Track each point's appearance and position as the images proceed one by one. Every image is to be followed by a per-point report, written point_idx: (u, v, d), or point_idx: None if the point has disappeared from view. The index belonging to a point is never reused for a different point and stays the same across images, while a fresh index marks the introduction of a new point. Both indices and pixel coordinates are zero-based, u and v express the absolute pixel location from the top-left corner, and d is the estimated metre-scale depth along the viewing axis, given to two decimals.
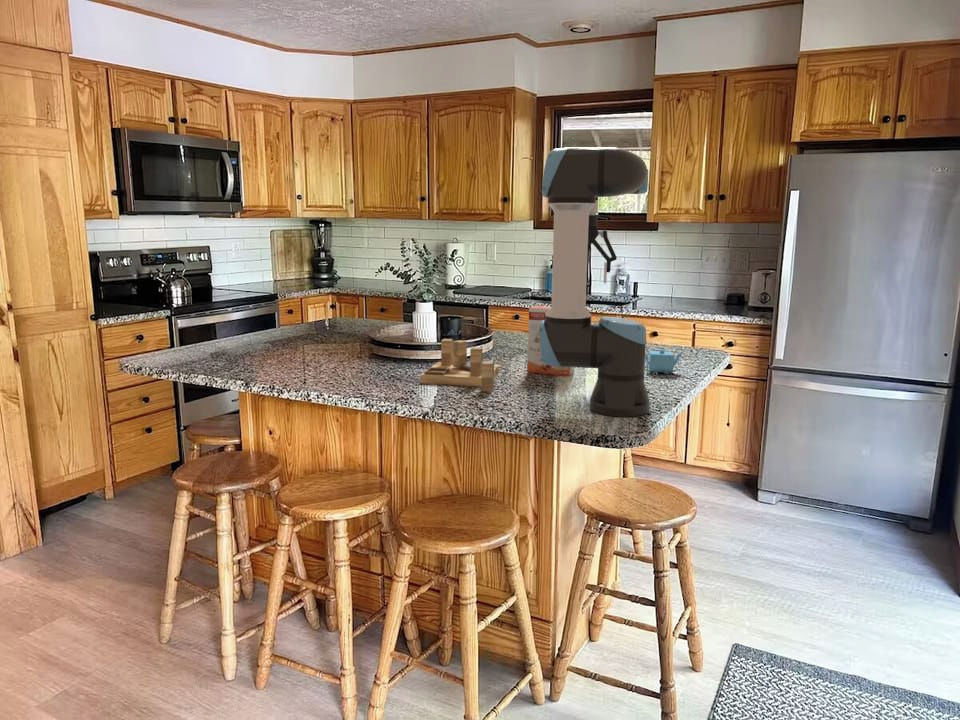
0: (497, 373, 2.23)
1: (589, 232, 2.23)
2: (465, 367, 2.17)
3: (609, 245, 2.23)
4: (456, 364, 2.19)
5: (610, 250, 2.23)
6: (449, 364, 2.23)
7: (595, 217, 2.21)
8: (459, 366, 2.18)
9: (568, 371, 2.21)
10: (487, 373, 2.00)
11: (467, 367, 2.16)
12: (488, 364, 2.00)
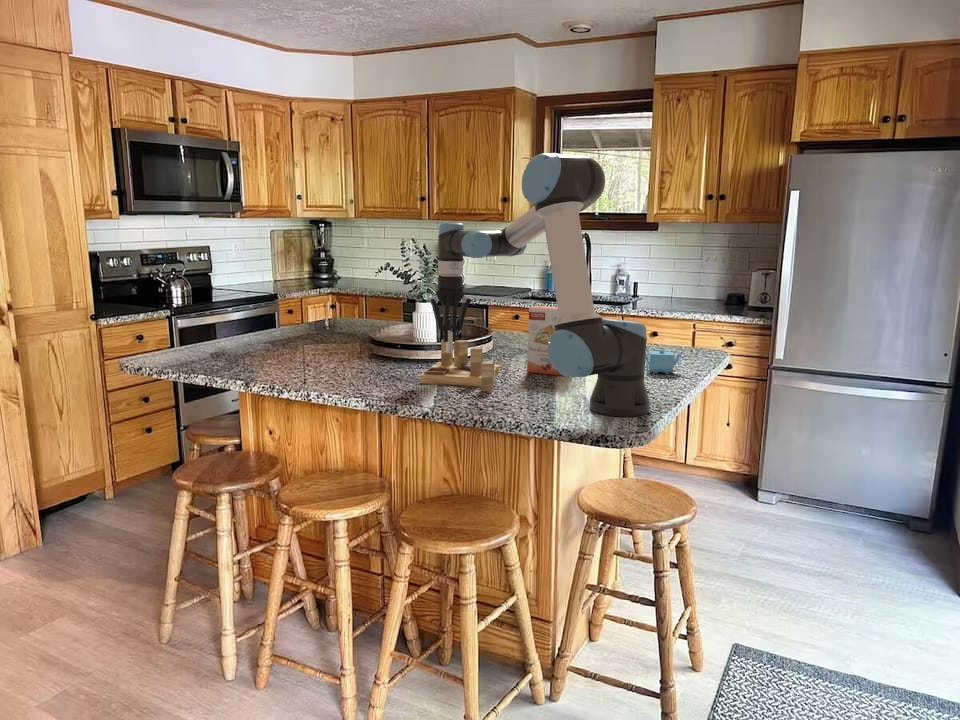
0: (497, 373, 2.23)
1: None
2: (465, 367, 2.17)
3: None
4: (457, 364, 2.19)
5: None
6: (449, 364, 2.23)
7: None
8: (460, 366, 2.19)
9: None
10: (487, 373, 2.00)
11: (467, 367, 2.16)
12: (488, 364, 2.00)
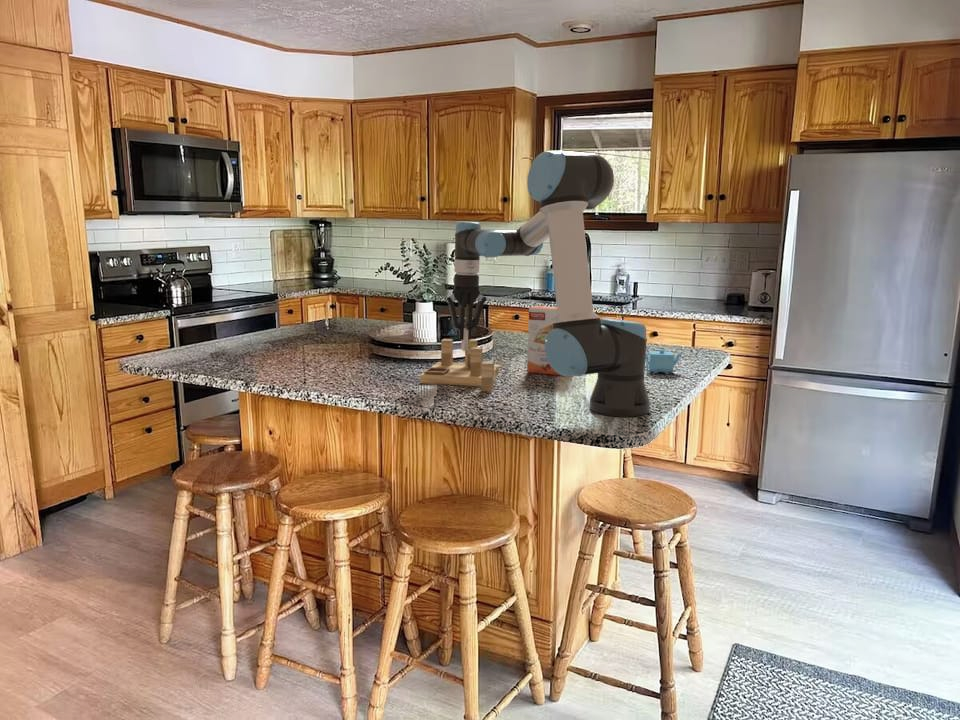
0: (497, 373, 2.23)
1: None
2: None
3: None
4: (466, 363, 2.22)
5: None
6: (449, 364, 2.23)
7: None
8: (467, 364, 2.21)
9: None
10: (487, 373, 2.00)
11: None
12: (488, 364, 2.00)
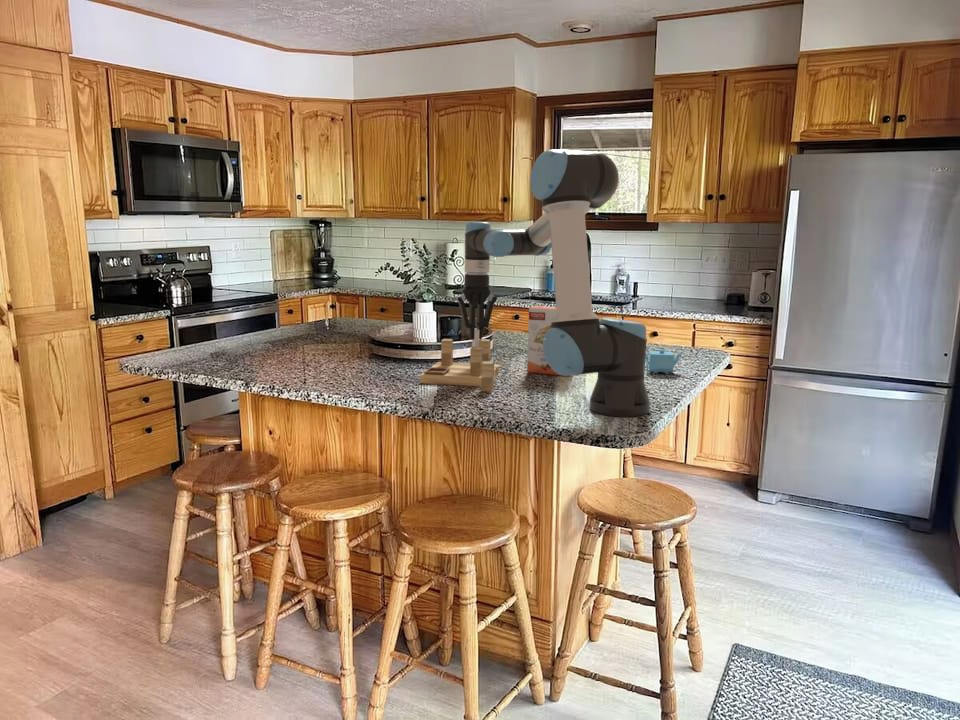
0: (497, 373, 2.23)
1: None
2: None
3: None
4: None
5: None
6: (449, 364, 2.23)
7: None
8: None
9: None
10: (487, 373, 2.00)
11: None
12: (488, 364, 2.00)
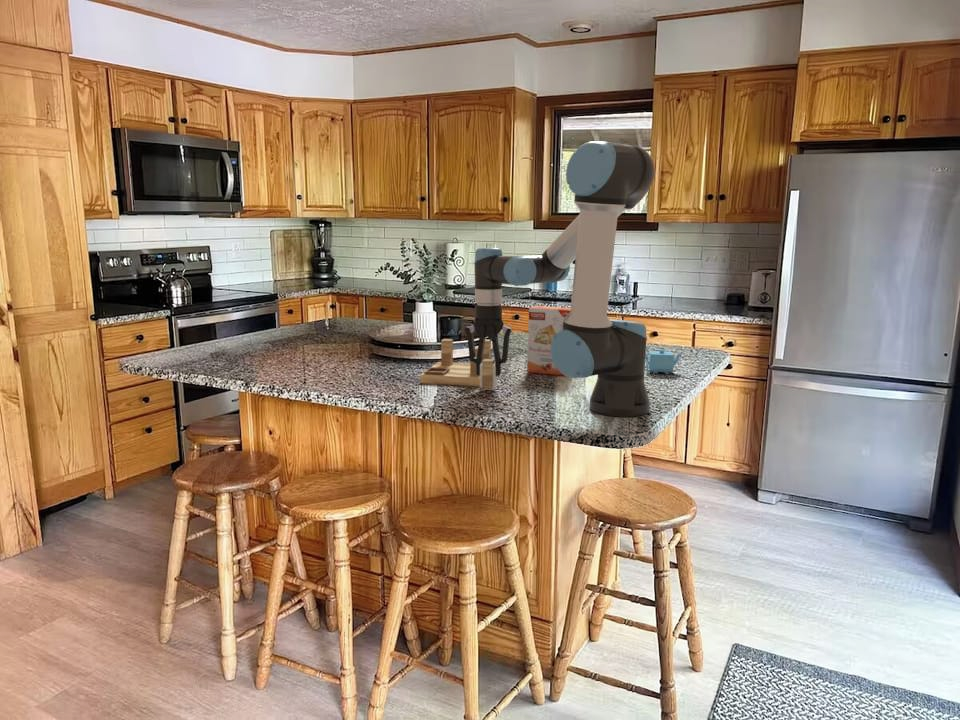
0: None
1: (494, 321, 1.98)
2: None
3: (505, 345, 1.98)
4: None
5: (504, 351, 1.98)
6: (449, 364, 2.23)
7: (498, 308, 1.96)
8: None
9: None
10: (488, 370, 2.00)
11: None
12: (489, 361, 1.99)
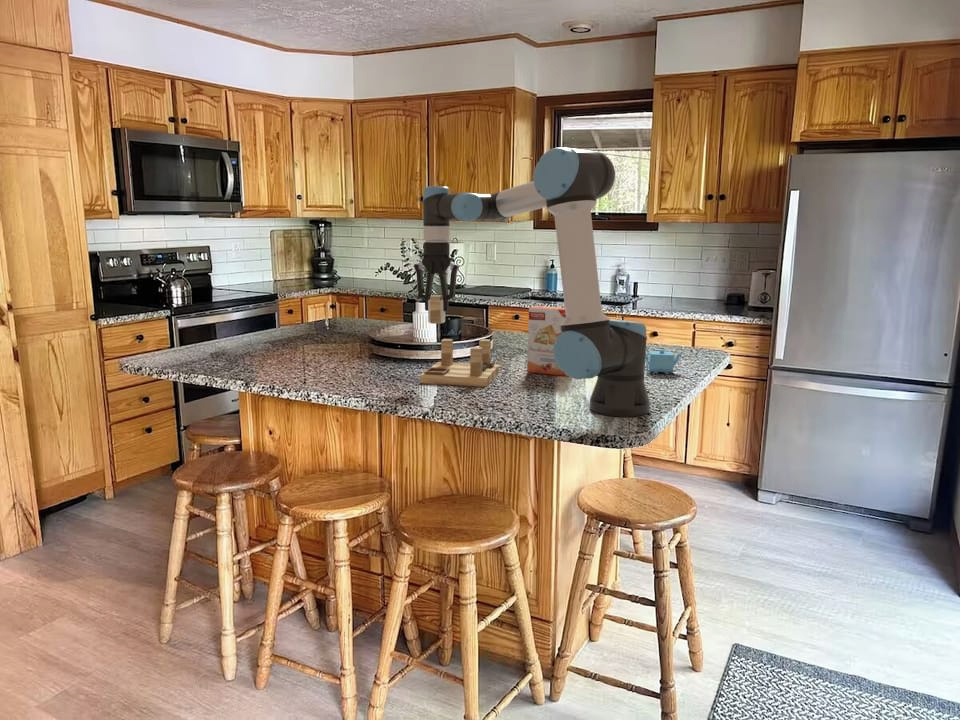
0: (497, 373, 2.23)
1: (441, 258, 2.06)
2: None
3: (452, 281, 2.06)
4: None
5: (451, 286, 2.06)
6: (449, 364, 2.23)
7: (445, 245, 2.04)
8: None
9: None
10: (436, 305, 2.08)
11: None
12: (436, 297, 2.08)
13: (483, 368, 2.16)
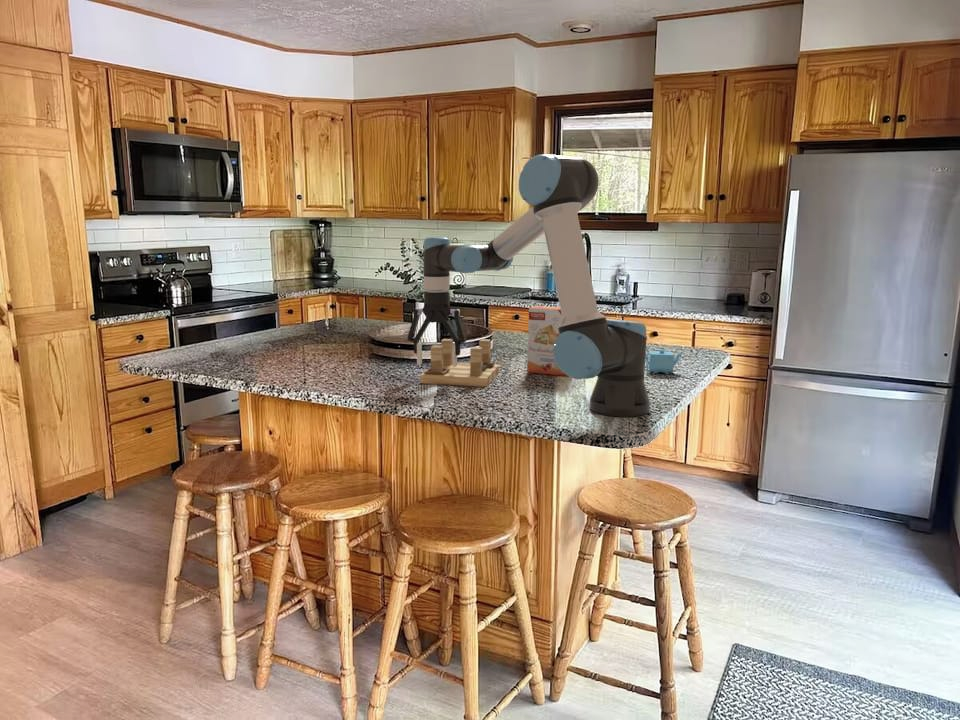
0: (497, 373, 2.23)
1: (440, 309, 2.08)
2: None
3: (459, 326, 2.08)
4: None
5: (459, 332, 2.08)
6: (449, 364, 2.23)
7: (445, 294, 2.06)
8: None
9: None
10: (436, 356, 2.11)
11: None
12: (437, 348, 2.10)
13: (483, 368, 2.16)
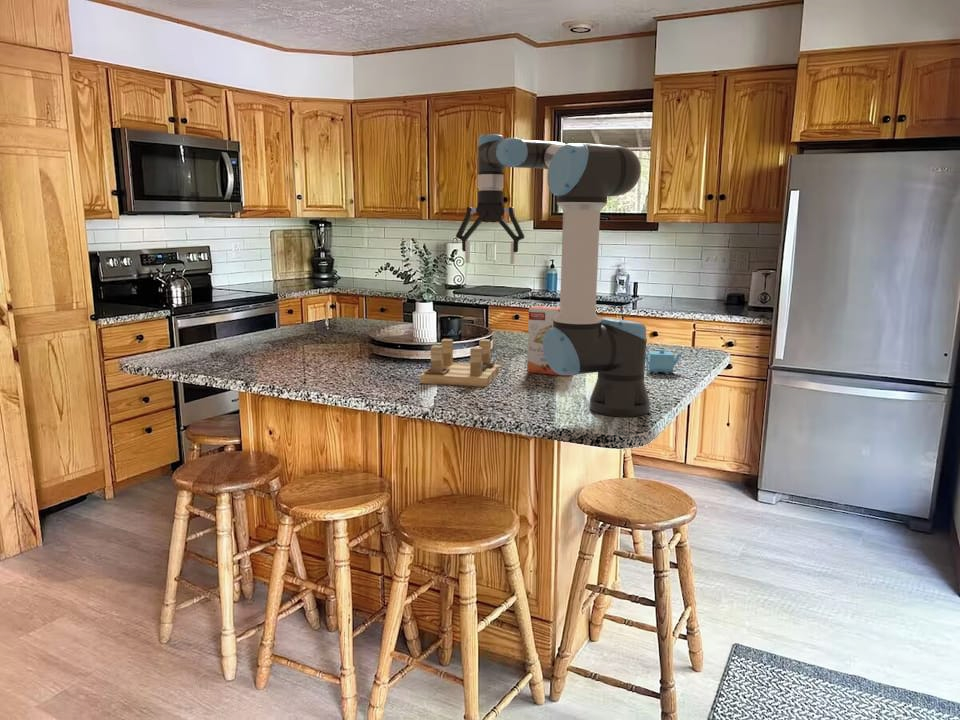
0: (497, 373, 2.23)
1: (494, 209, 2.09)
2: None
3: (515, 223, 2.08)
4: None
5: (516, 228, 2.08)
6: (449, 364, 2.23)
7: (499, 193, 2.07)
8: None
9: None
10: (436, 356, 2.11)
11: None
12: (437, 348, 2.10)
13: (483, 368, 2.16)
